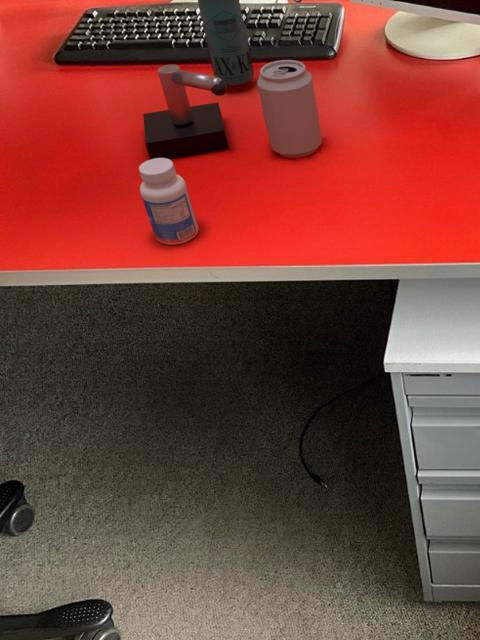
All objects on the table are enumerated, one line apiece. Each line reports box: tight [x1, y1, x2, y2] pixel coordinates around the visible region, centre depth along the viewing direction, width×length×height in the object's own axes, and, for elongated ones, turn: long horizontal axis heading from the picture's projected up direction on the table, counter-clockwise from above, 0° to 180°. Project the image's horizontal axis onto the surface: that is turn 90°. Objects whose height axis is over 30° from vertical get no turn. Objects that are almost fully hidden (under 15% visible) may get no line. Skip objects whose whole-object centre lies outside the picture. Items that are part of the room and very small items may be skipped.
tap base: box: [142, 102, 230, 160], centre depth 131 cm, size 11×10×3 cm
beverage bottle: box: [197, 0, 255, 86], centre depth 140 cm, size 6×7×20 cm
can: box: [256, 59, 323, 158], centre depth 126 cm, size 8×8×12 cm
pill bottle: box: [138, 158, 200, 246], centre depth 110 cm, size 6×5×10 cm
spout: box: [157, 64, 228, 125], centre depth 126 cm, size 3×11×8 cm, turn 66°
